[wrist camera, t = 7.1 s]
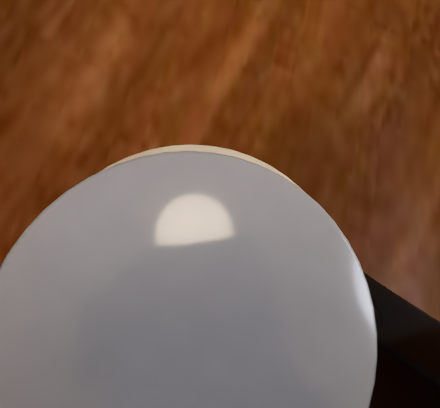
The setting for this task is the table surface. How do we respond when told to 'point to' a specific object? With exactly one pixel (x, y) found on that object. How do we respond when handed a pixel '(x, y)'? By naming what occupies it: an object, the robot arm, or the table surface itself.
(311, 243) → the sugar shaker
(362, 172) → the table surface
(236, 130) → the table surface
